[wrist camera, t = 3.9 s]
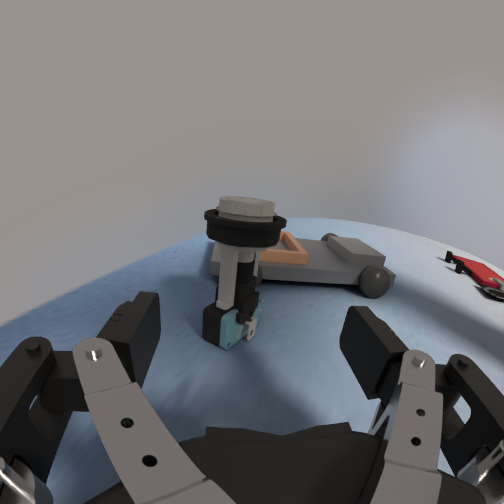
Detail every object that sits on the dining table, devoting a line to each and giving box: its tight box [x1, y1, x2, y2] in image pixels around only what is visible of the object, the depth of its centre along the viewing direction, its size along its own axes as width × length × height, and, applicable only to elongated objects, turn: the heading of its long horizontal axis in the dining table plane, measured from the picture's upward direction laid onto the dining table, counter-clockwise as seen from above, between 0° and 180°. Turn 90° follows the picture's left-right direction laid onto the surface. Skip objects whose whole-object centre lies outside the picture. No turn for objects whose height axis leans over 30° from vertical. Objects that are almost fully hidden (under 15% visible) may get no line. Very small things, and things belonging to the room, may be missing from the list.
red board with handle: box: [445, 251, 504, 299], centre depth 41 cm, size 30×3×15 cm
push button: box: [202, 197, 287, 350], centre depth 19 cm, size 7×5×10 cm
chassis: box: [210, 231, 396, 299], centre depth 36 cm, size 22×17×4 cm
